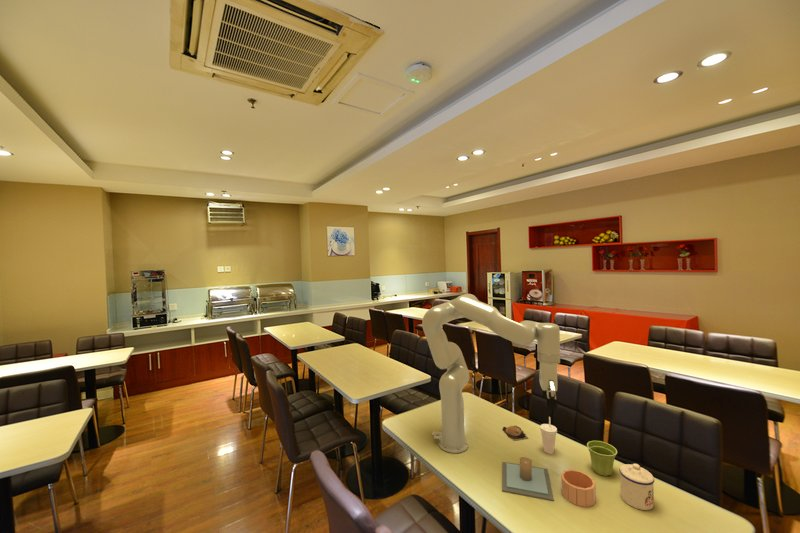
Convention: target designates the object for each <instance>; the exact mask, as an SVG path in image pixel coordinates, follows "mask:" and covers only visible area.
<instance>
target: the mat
mask: <svg viewBox="0 0 800 533" xmlns="http://www.w3.org/2000/svg"><path fill="white" fill-rule="evenodd" d="M506 463H509V464H515V465H520V463H519V464H518V463H513V462H509V461H502V464H501V465H502V466H501V468H502V470H501V471H502V473H501V475H502V476H501V480H502V481H501V485H502V486H501V492H503V493H509V494H513V495H518V496H524V497H529V498H534V499H539V500H546V501H549V502H550V501H551V502H555V499H554V494H553V489H552V485H551V483H552V482H551V479H550V474H549V470H548V468H544V467H538V466H532V467H534V468H540V469H544V474H545V479H546V485H547V490H548V495H542V494H537V493H532V492H526V491H521V490H516V489H510V488H507V465H506Z"/></svg>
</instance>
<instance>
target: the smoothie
mask: <svg viewBox="0 0 800 533" xmlns="http://www.w3.org/2000/svg"><path fill="white" fill-rule="evenodd" d="M551 420H552V419H551V417H550V416H548V423H542V424H539V429H540V432H541V439H542V445H543V446H542V447H543V451H544V453H546V454H549V455H553V454H554V453H555V452H554V451H555V446H556V445H555V444H556V437H557V433H558V428H557V427H556V426H555V425H553V424H551Z"/></svg>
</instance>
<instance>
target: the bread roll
mask: <svg viewBox="0 0 800 533" xmlns="http://www.w3.org/2000/svg"><path fill="white" fill-rule="evenodd" d="M501 429H502V431H503V433H504V434H505V435H506V436H507V437H508V438H510V439H511V440H512V441H514V442H517V441H523V440H529V437H528V436H527V434H526V433H524V430H522V429H521V427H519V426H517V425H511V426H507V427H506V426H504V427H502V428H501Z"/></svg>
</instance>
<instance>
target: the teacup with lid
mask: <svg viewBox="0 0 800 533" xmlns="http://www.w3.org/2000/svg"><path fill="white" fill-rule="evenodd" d="M619 476H620V477H619V479H620V485H619V486H620V487H619V488H620V498H621V499H622V500H623V502H625V503H626V504H627V505H629V506H631V507H632V508H634V509H638V510H642V511H651V510H652V509H653V508H654V504H655V501H654V499H655V498H654V497H655V496H654V483H655V478H654V476H653V474H652V473H651V472H649V470H647V469H645V468H644V467H641V465H639V464H638V463H631V464H629V463H626V464H622V465H621V466H620V467H619Z"/></svg>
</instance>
